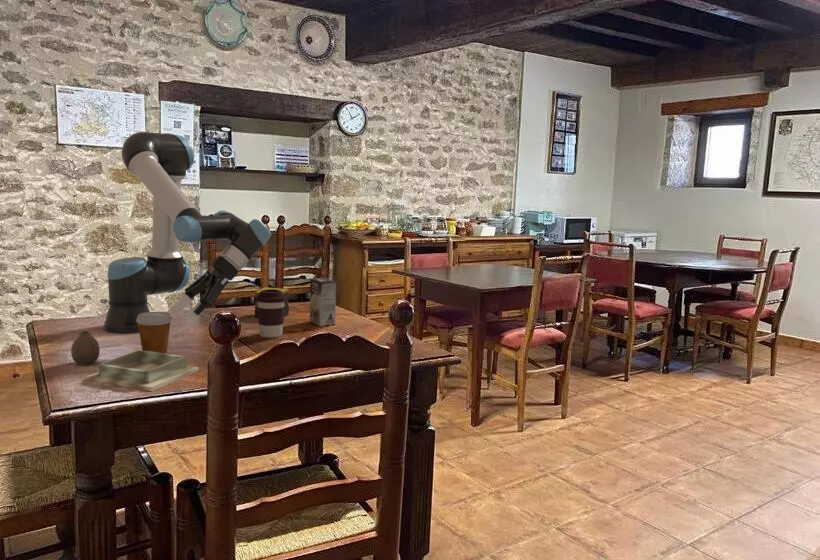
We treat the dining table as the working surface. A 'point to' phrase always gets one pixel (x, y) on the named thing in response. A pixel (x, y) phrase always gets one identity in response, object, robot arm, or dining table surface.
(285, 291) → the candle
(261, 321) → the coffee cup
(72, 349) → the vase
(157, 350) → the disposable coffee cup
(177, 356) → the tray
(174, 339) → the dining table surface
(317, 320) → the coffee box
